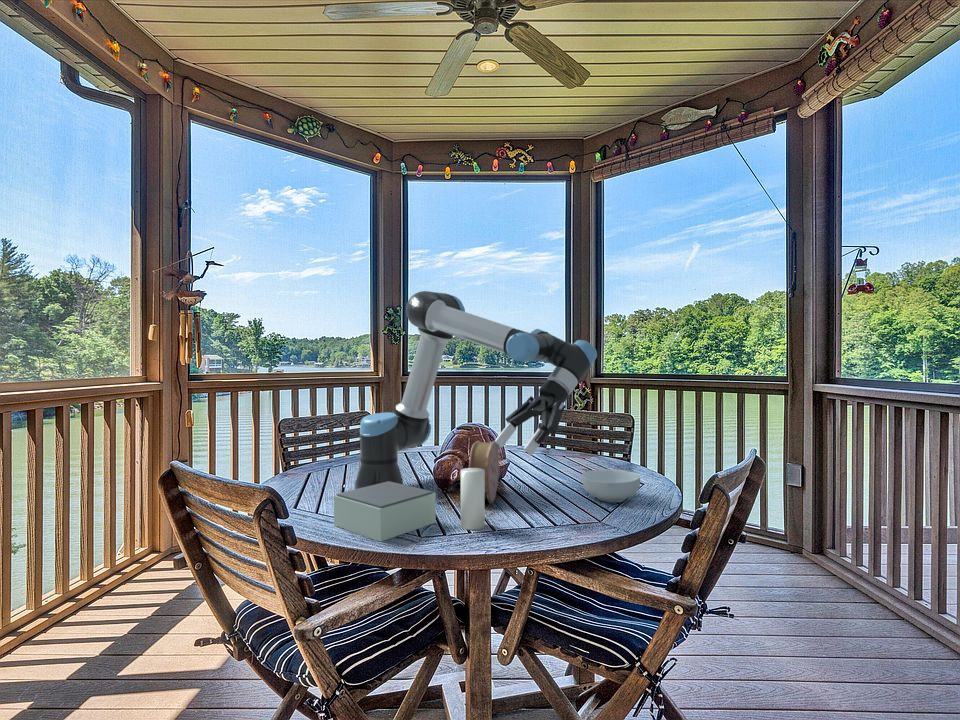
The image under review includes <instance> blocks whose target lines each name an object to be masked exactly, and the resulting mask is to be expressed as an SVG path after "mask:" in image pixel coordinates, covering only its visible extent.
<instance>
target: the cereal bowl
mask: <svg viewBox="0 0 960 720" xmlns="http://www.w3.org/2000/svg"><path fill="white" fill-rule="evenodd" d="M581 478H582V481H581V482H582V486H583V488H584V490H585V491H586V493H587V494H589V495H590V496H591V497H594V498H596V499H598V500H599V501H601V502H604V501H606V503H620V502H621V501H622V502H624V501H626V500H627V499H630V498H632V497H633V496H635V495H636V494H637V492H638V491H639V490H640V486H641V476H640V475H639V474H638V473H635V472H633V471H627V470H622V469H620V470H619V469H606V468H605V469H593V470H588V471H585V472H583V473H582V476H581Z"/></svg>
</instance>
